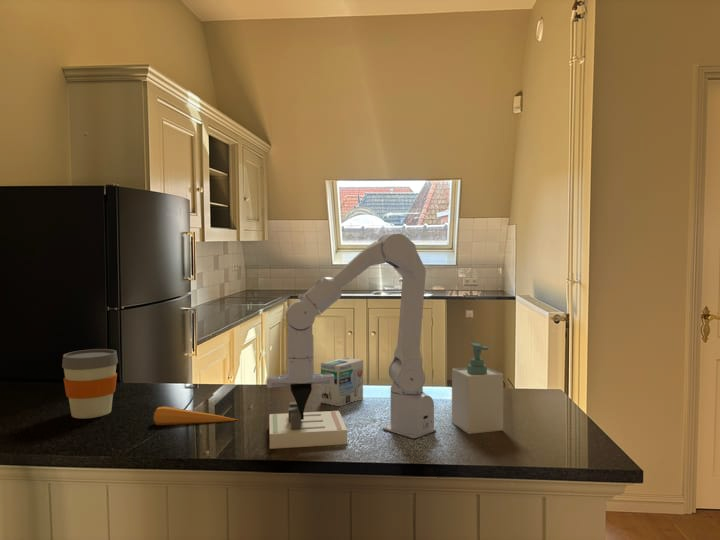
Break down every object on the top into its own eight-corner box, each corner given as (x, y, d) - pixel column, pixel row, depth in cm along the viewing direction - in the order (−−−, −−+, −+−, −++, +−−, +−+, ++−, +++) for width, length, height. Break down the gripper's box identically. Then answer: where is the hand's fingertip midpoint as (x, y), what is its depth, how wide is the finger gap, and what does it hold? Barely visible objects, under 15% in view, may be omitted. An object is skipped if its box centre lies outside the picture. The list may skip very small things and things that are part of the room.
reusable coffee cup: (99, 403, 147) (97, 347, 147) (129, 410, 141) (128, 351, 140) (52, 415, 137) (50, 355, 136) (83, 423, 130) (81, 360, 130)
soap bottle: (468, 434, 122) (469, 348, 121) (451, 422, 130) (451, 341, 129) (503, 431, 124) (504, 346, 123) (484, 419, 132) (485, 340, 132)
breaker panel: (338, 423, 130) (338, 398, 129) (347, 444, 116) (347, 415, 116) (269, 427, 127) (269, 401, 127) (269, 448, 113) (269, 419, 113)
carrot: (151, 429, 129) (151, 414, 127) (156, 416, 133) (156, 401, 131) (239, 434, 131) (240, 419, 130) (241, 421, 135) (242, 406, 134)
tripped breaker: (297, 419, 122) (297, 407, 122) (298, 421, 120) (297, 409, 120) (288, 419, 122) (288, 407, 122) (288, 422, 120) (288, 410, 120)
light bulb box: (339, 407, 143) (339, 366, 143) (319, 403, 147) (319, 362, 147) (364, 398, 152) (364, 359, 151) (345, 394, 156) (344, 356, 155)
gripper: (331, 351, 126) (332, 411, 126) (266, 354, 123) (267, 414, 124) (335, 357, 119) (335, 420, 119) (266, 360, 116) (267, 424, 117)
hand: (301, 418), depth 121 cm, fingers closed
